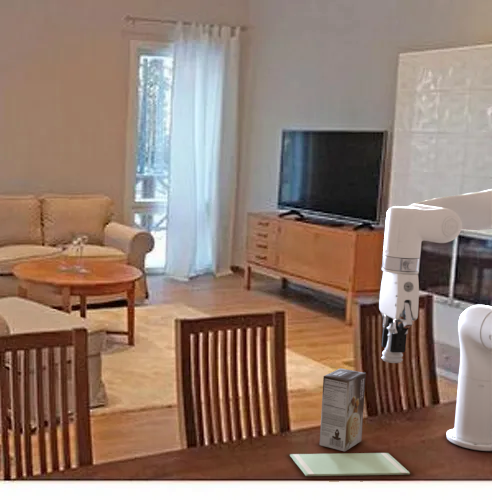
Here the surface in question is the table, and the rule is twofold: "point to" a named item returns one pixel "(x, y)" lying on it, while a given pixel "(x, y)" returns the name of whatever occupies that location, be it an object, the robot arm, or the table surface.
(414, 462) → the table surface
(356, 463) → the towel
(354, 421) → the coffee box
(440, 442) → the table surface
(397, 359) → the rook chess piece
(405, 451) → the table surface
